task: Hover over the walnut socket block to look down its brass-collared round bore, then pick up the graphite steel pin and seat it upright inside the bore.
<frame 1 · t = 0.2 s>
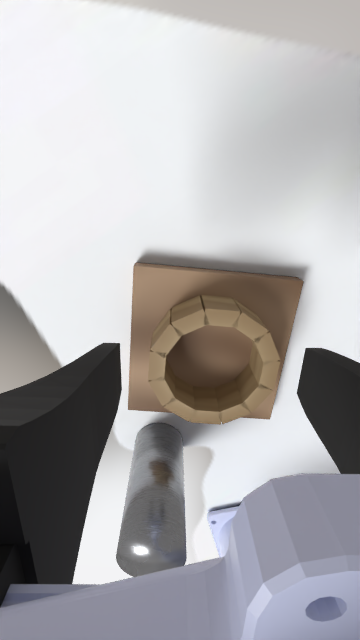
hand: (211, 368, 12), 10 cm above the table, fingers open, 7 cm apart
socket block: (207, 343, 22), on the table
steel pin: (159, 442, 26), on the table
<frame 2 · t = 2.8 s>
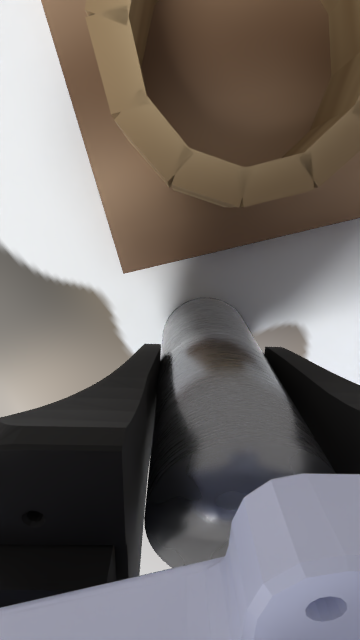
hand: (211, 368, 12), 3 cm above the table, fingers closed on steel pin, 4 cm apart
socket block: (230, 85, 11), on the table
steel pin: (204, 338, 14), on the table, touching gripper
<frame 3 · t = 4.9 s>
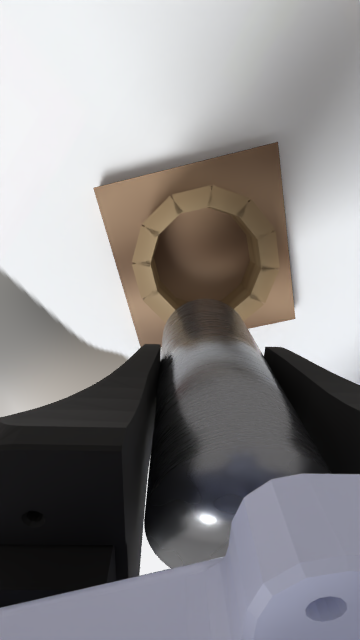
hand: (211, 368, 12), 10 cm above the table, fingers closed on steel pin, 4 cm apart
socket block: (200, 255, 21), on the table
steel pin: (204, 338, 14), point 8 cm above the table, touching gripper
when the fingers open (5 cm above the table, at t = 7.2 s): steel pin stays where it is, resting on socket block.
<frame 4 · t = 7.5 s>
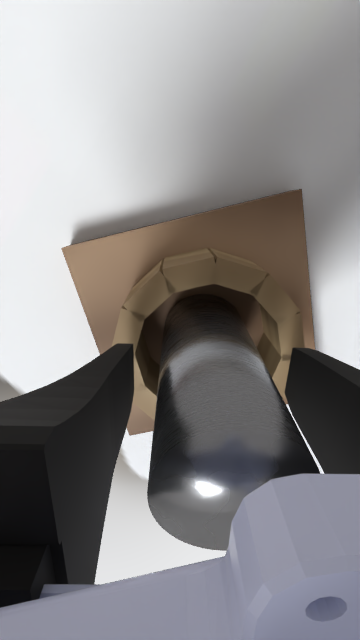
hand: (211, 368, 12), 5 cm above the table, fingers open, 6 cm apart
socket block: (201, 322, 16), on the table
steel pin: (203, 331, 15), point 1 cm above the table, touching socket block
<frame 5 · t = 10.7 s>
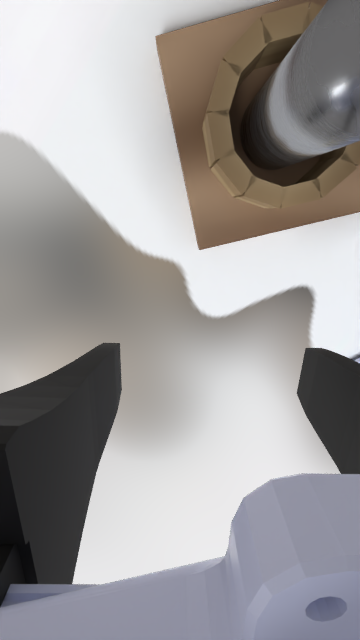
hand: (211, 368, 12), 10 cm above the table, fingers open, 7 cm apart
socket block: (269, 134, 18), on the table
steel pin: (275, 130, 17), point 1 cm above the table, touching socket block
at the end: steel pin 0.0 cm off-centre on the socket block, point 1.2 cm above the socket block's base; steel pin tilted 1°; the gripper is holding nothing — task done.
